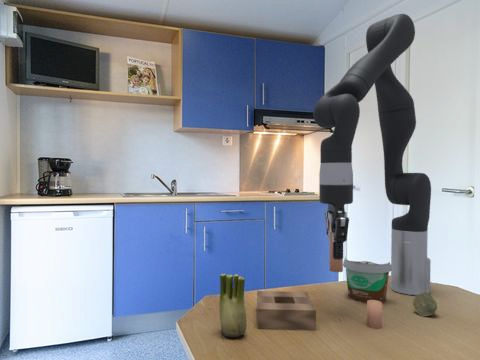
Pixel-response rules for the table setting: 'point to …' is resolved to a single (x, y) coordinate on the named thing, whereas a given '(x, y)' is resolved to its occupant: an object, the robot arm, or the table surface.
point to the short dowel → (374, 314)
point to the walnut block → (285, 310)
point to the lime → (425, 304)
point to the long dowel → (334, 264)
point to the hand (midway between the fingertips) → (336, 256)
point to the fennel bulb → (232, 305)
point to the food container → (367, 280)
